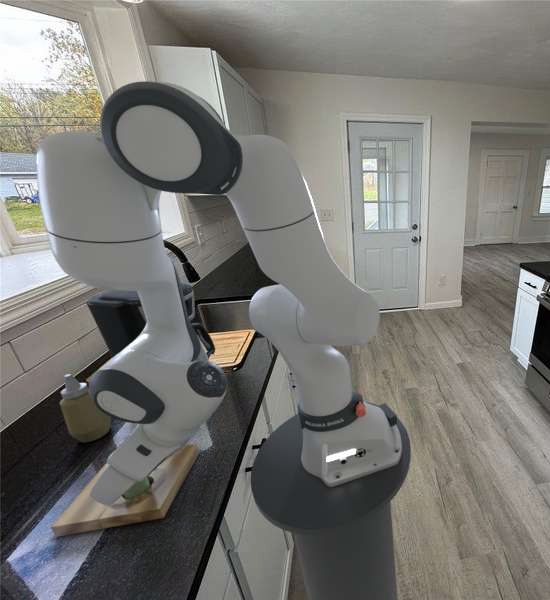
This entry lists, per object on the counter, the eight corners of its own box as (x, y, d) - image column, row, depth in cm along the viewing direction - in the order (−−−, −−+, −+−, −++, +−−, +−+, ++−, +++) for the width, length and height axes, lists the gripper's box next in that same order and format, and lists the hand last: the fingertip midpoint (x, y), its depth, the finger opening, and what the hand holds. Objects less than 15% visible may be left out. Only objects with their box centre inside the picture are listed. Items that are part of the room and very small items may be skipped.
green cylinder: (157, 485, 66) (140, 443, 62) (146, 504, 62) (126, 460, 58) (135, 489, 66) (116, 447, 62) (122, 508, 62) (101, 464, 58)
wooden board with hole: (199, 452, 74) (196, 443, 74) (163, 518, 60) (159, 508, 59) (115, 464, 72) (111, 456, 71) (55, 537, 57) (50, 527, 56)
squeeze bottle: (85, 427, 84) (58, 370, 78) (122, 420, 86) (97, 363, 80) (66, 450, 77) (33, 388, 70) (106, 441, 79) (78, 381, 73)
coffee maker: (207, 402, 92) (174, 294, 80) (77, 424, 85) (20, 309, 74) (228, 362, 113) (204, 272, 101) (125, 377, 106) (86, 283, 94)
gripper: (192, 383, 67) (163, 419, 71) (99, 465, 48) (67, 507, 52) (217, 401, 68) (187, 435, 72) (136, 487, 49) (102, 526, 53)
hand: (137, 466), depth 62 cm, fingers open, 8 cm apart
